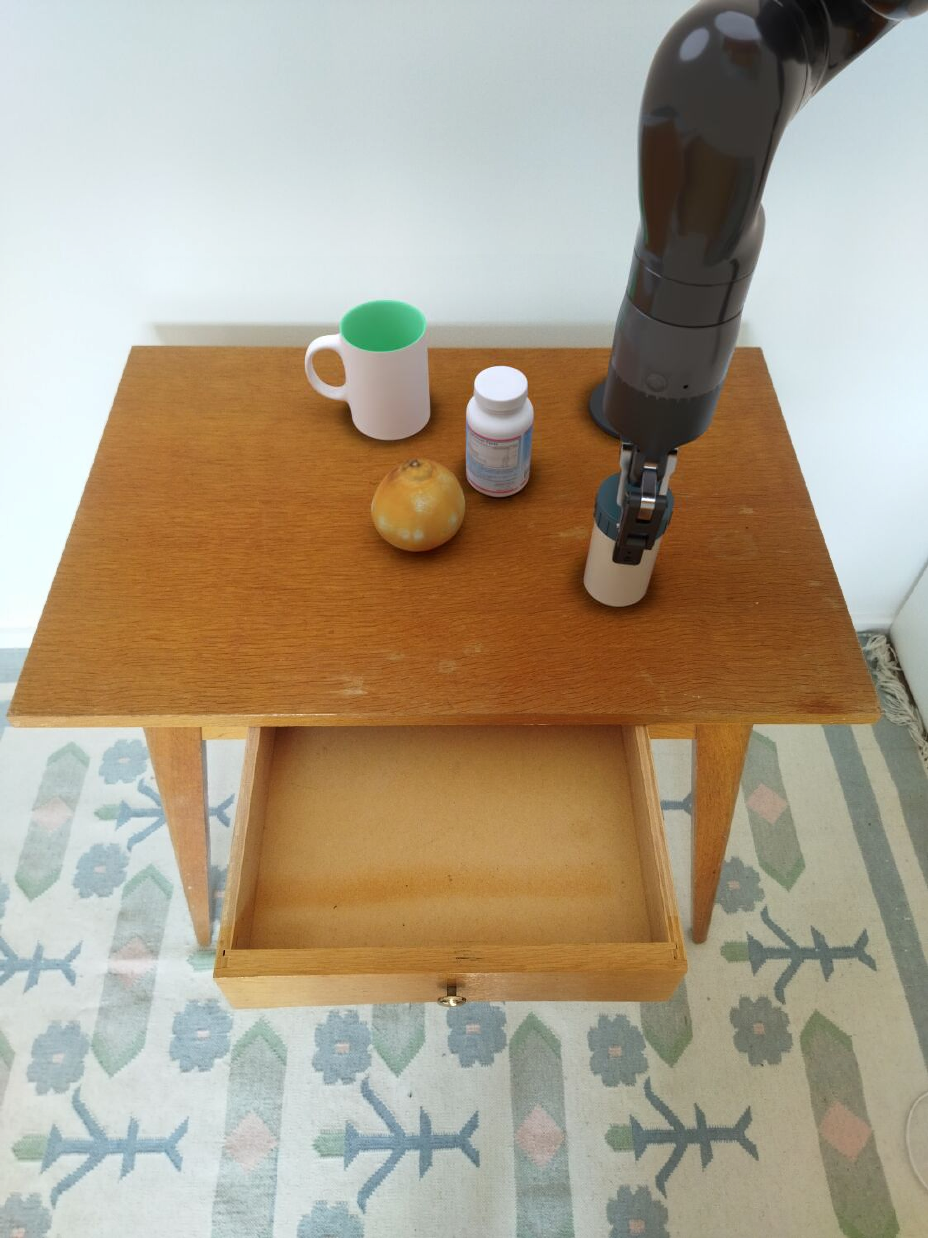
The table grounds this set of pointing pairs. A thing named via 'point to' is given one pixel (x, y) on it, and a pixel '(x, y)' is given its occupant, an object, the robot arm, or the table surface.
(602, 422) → the coaster
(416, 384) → the mug
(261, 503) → the table surface
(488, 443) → the pill bottle
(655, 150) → the robot arm
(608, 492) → the lid
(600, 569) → the jar
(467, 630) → the table surface
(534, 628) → the table surface
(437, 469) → the fruit
